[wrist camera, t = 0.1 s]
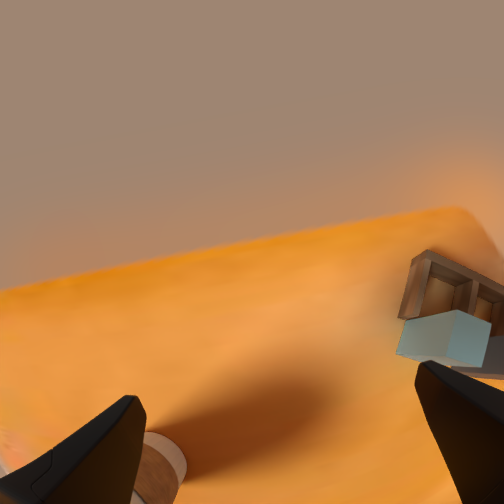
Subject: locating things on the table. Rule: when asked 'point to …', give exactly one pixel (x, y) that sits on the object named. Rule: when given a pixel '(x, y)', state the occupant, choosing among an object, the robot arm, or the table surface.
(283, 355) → the table surface
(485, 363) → the dark gray block
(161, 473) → the coffee cup
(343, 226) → the table surface
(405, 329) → the pale blue tall block
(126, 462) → the robot arm
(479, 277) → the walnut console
